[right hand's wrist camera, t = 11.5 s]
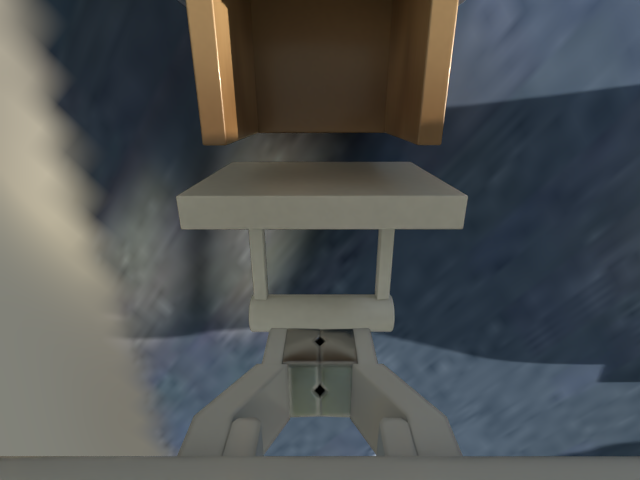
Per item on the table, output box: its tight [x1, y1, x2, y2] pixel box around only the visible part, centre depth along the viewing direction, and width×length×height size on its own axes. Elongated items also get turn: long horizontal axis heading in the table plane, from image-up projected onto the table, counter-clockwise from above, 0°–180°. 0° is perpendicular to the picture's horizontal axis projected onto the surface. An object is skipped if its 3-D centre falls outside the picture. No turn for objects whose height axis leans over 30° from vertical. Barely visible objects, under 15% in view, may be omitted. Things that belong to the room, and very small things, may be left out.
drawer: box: [176, 0, 468, 332], centre depth 13 cm, size 26×10×8 cm, turn 0°
